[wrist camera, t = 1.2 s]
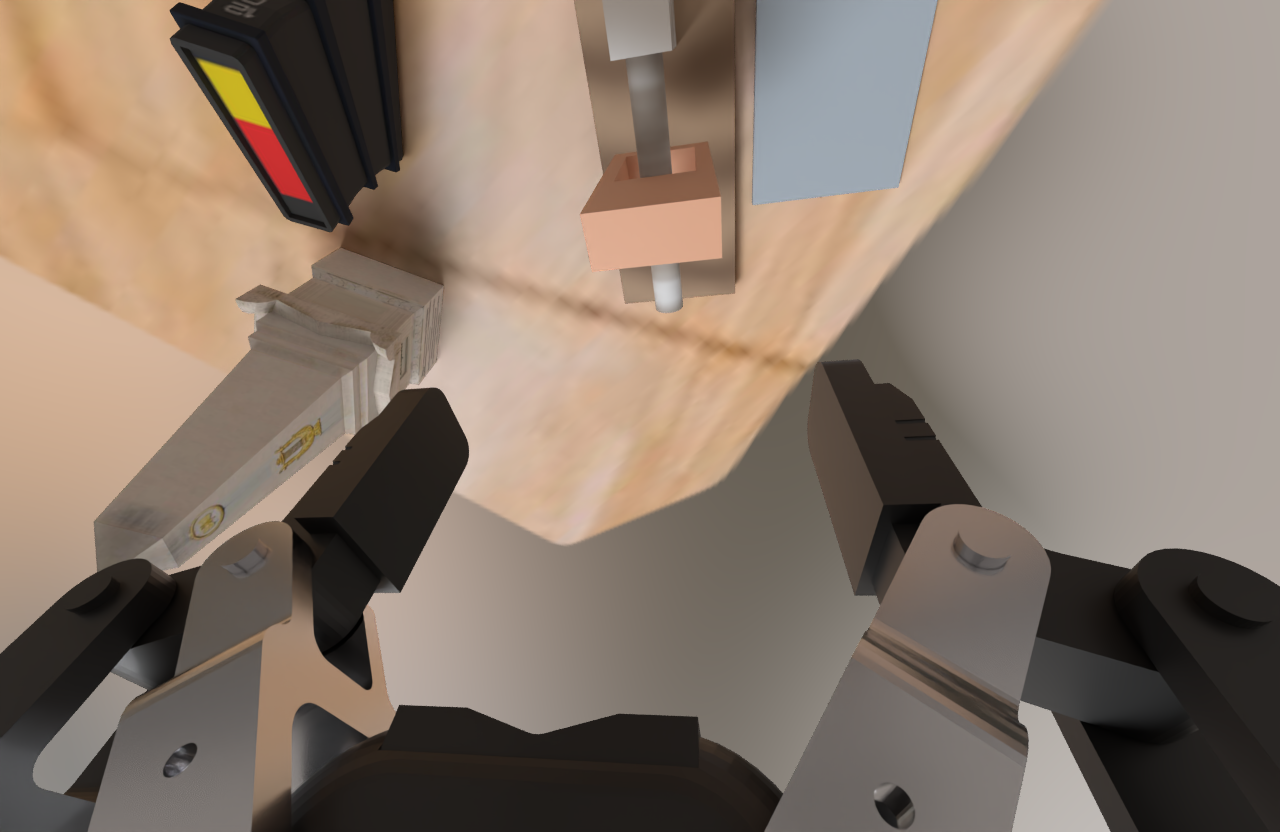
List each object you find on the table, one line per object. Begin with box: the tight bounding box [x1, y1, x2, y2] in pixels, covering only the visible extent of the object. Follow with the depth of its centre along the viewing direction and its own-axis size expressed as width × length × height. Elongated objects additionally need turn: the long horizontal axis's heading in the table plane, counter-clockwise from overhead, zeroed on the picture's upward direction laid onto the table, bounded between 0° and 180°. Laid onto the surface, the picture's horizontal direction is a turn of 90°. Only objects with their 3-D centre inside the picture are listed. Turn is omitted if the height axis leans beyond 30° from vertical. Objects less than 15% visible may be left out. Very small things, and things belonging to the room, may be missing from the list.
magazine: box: [170, 0, 403, 232], centre depth 29 cm, size 4×13×15 cm, turn 165°
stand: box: [574, 0, 735, 313], centre depth 29 cm, size 22×10×17 cm, turn 8°
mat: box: [752, 0, 937, 205], centre depth 31 cm, size 16×11×1 cm
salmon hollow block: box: [580, 141, 722, 272], centre depth 23 cm, size 2×6×12 cm, turn 98°
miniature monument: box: [94, 248, 444, 572], centre depth 34 cm, size 10×10×30 cm
